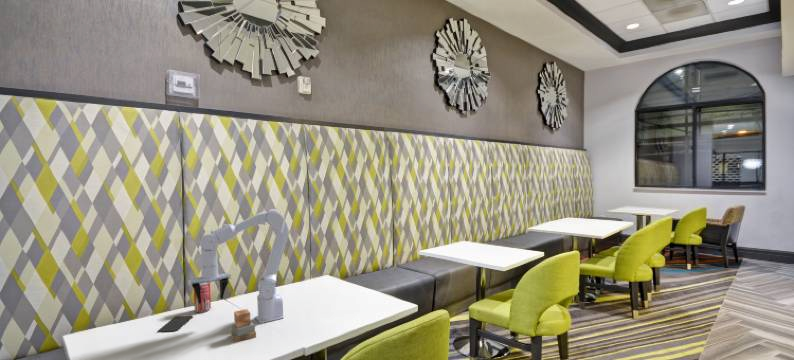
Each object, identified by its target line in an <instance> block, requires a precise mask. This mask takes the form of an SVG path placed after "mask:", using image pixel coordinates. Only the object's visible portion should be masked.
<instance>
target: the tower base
mask: <svg viewBox="0 0 794 360" xmlns="http://www.w3.org/2000/svg"><path fill="white" fill-rule="evenodd" d="M230 333H231V335H230V336H231V338H232V339H233V341H234V343H238V342H242V341H247V340H249V339H250V340H251V339H255V338H257V332H256V330H255V331H254V332H251V333H248V334H244V335H241V336H237V335H236V334H235V333H234V332H232V329H231V331H230Z"/></svg>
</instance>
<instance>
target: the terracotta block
mask: <svg viewBox="0 0 794 360" xmlns="http://www.w3.org/2000/svg"><path fill="white" fill-rule="evenodd" d="M233 313H234V314H233V315H234V320H233V321H234V324H235V325H236V327H237V328H240V327H244V326H248V325H251V322H252V321H251V312H250V311H249V309H248V308H244V309H240V310H235V311H234V312H233Z"/></svg>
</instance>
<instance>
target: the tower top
mask: <svg viewBox="0 0 794 360" xmlns="http://www.w3.org/2000/svg"><path fill="white" fill-rule="evenodd" d="M231 330H232V332H234V333H235V334H236V335H237V336H241V335H244V334H248V333H251V332H254V331H255V332H256V325H255V323H253V322H252V321H251V325H248V326H244V327H240V328H237V327H236V325H235V323H232V324H231Z"/></svg>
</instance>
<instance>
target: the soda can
mask: <svg viewBox="0 0 794 360" xmlns="http://www.w3.org/2000/svg"><path fill="white" fill-rule="evenodd" d="M200 287H201V303H199V302H198V298H197V295H196V292H195V290H194V289H193V299H194V300H193V301H194V303H193V304H194V311H195V312H196V313H198V314H199V313H206V312H209V311H210V309H212V307H211V305H212V304H211V302H212V301H211V285H210V282H206V283H200Z"/></svg>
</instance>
